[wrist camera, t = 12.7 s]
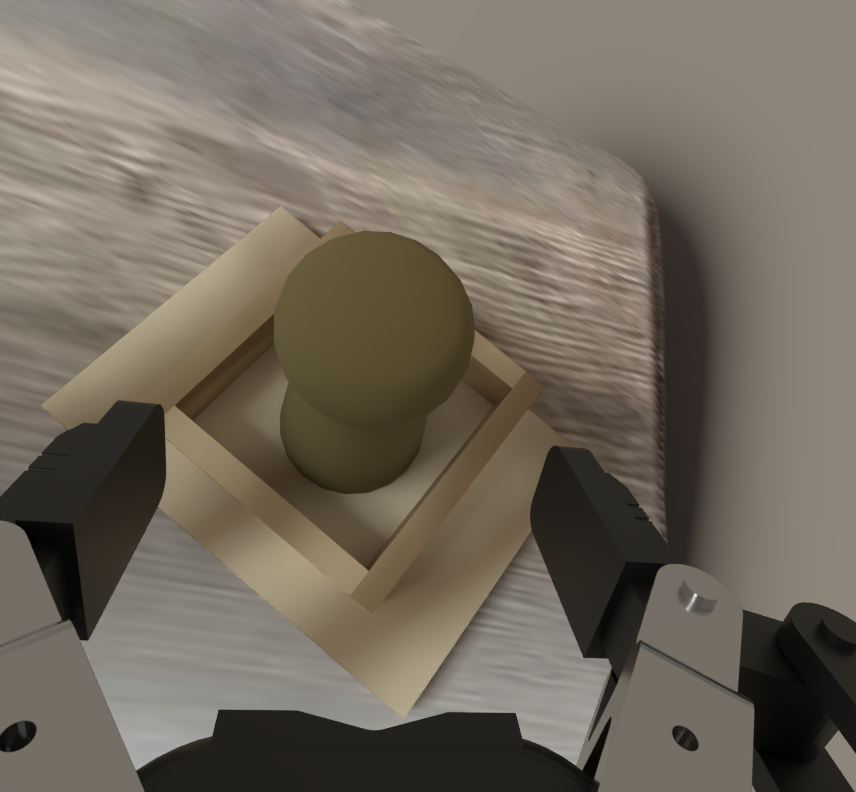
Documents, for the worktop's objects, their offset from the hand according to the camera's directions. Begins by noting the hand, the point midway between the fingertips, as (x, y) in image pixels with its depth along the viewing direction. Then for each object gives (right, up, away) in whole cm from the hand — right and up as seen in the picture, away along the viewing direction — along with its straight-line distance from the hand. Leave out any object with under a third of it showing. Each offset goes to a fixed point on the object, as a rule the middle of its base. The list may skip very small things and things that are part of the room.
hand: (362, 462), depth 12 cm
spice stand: (-3, 0, +12) cm, 12 cm away
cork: (-2, 0, +12) cm, 12 cm away
